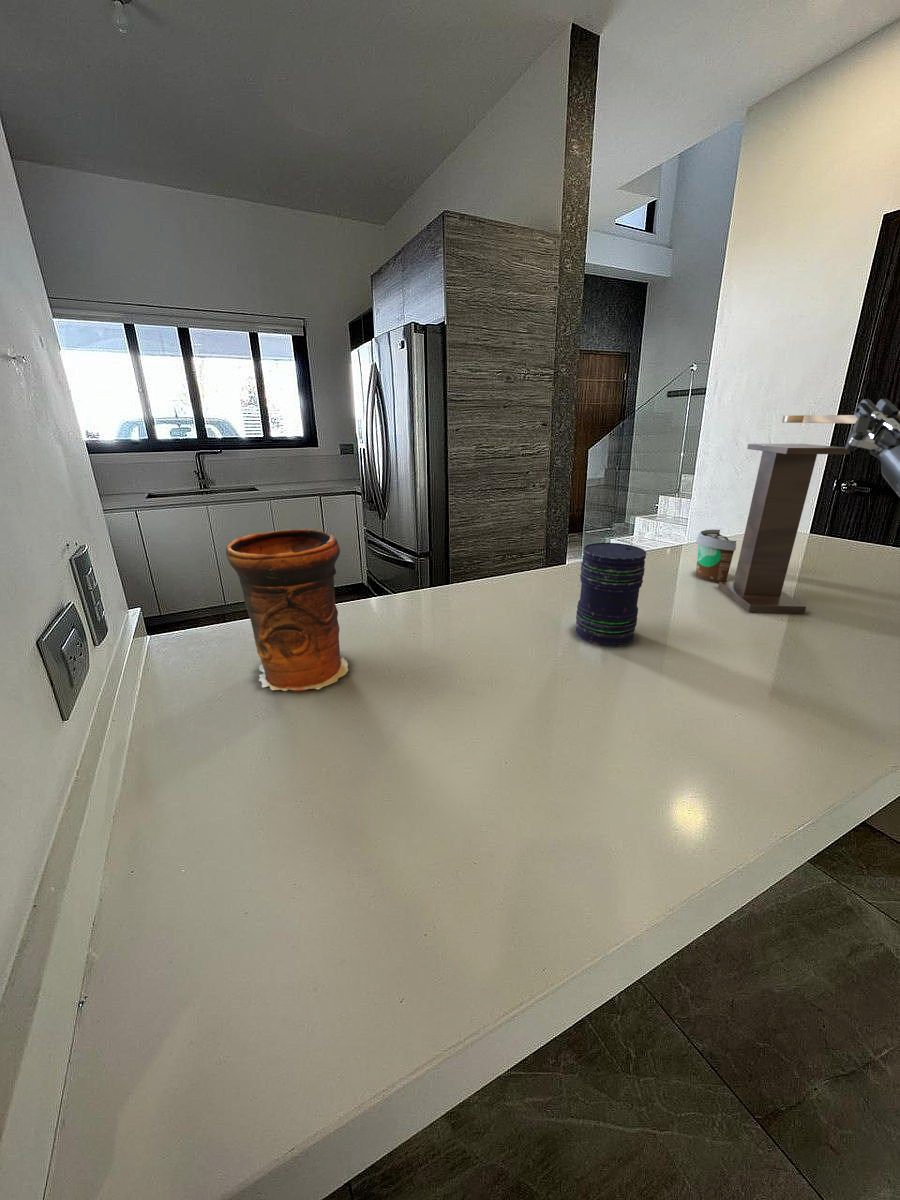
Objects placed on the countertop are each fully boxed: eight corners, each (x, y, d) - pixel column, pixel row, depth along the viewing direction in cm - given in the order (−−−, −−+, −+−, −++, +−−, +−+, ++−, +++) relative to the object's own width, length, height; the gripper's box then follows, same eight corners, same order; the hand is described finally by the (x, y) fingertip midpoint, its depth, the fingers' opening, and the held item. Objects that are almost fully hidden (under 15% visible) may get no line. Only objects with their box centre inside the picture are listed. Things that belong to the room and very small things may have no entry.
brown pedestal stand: (804, 614, 90) (851, 448, 80) (748, 612, 91) (787, 447, 81) (766, 589, 103) (802, 443, 93) (717, 587, 104) (748, 443, 94)
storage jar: (600, 651, 76) (611, 561, 71) (562, 628, 85) (570, 546, 79) (647, 640, 80) (661, 554, 75) (607, 619, 88) (616, 540, 83)
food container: (684, 568, 118) (691, 528, 115) (711, 569, 117) (719, 529, 113) (697, 583, 107) (706, 540, 103) (727, 585, 106) (737, 541, 102)
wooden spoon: (897, 423, 67) (900, 414, 67) (860, 424, 68) (863, 414, 67) (804, 422, 88) (805, 415, 88) (776, 422, 89) (778, 415, 88)
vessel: (237, 702, 63) (209, 556, 56) (260, 653, 76) (239, 529, 69) (348, 693, 65) (335, 550, 58) (352, 646, 78) (341, 525, 71)
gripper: (857, 501, 62) (806, 428, 73) (973, 503, 61) (903, 428, 72) (895, 451, 56) (833, 380, 67) (1025, 451, 55) (940, 378, 66)
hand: (870, 405), depth 69 cm, fingers closed on wooden spoon
